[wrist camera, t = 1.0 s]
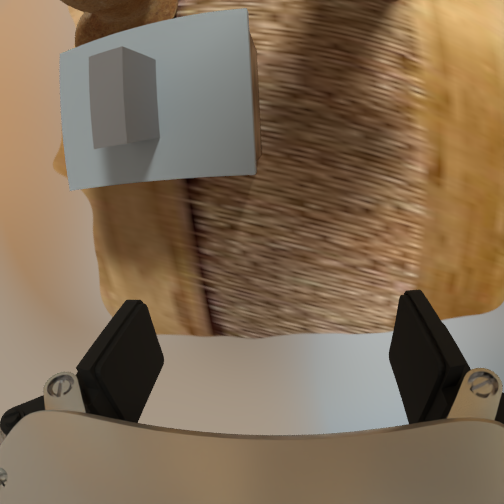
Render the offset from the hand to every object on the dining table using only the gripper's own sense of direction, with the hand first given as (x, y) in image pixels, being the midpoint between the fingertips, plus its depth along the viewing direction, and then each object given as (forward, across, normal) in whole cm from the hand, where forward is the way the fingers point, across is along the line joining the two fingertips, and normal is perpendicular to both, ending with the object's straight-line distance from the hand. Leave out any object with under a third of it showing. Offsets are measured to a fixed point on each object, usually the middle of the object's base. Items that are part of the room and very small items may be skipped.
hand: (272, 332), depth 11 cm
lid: (+17, +11, -10) cm, 23 cm away
